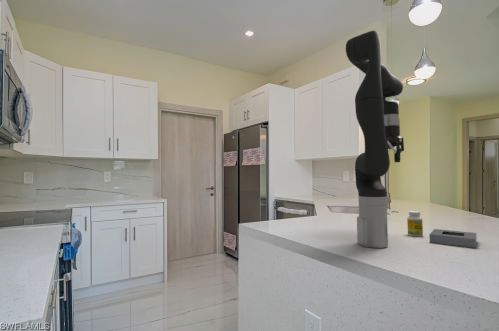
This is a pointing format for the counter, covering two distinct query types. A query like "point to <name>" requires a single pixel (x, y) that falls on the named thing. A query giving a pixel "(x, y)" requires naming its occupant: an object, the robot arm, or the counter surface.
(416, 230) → the supplement bottle
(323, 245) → the counter surface
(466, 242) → the block
